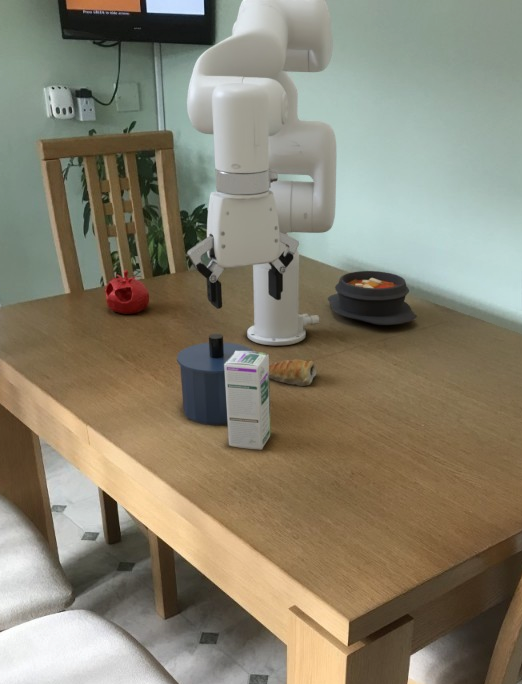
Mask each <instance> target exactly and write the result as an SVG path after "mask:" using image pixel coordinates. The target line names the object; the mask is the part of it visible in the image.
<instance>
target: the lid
mask: <svg viewBox="0 0 522 684" xmlns="http://www.w3.org/2000/svg"><path fill="white" fill-rule="evenodd" d="M235 351H254V350H253V349H252V348H250V347H248V346H246V345H242V344H238V343H234V342H226V341H225V342H224V335H222V334H220V333H212V334H209V335H208V342H204V343H203V342H202V343H198V344H194V345H190V346H187V347H185V348H184V349H182V350H180V351H179V352H178V354H177V356H176V362H177V364H178V365H179V366H182V367H183V368H185V369H188V370H191V371H194V372H200V373H209V374H221V373H225V368H224V364H225V363H226V362H227V360H228V359H229V358H230V357H231V356H232V355H233V354H234V352H235Z"/></svg>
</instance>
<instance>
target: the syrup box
mask: <svg viewBox="0 0 522 684" xmlns="http://www.w3.org/2000/svg"><path fill="white" fill-rule="evenodd" d="M269 356H270V355H269V353H266V352H261V351H254V350H253V351H235V352H234V354H233V355H232V356H231V357H230V358H229V359H228V360H227V362H226V363H225V364H224V368H225V386H226V404H227V420H228V424H227V436H228V445H229V446H230V447H233V448H234V447H235V448H241V449H250V450H260V451H262V450H263V448H264V446H265V445H266V444H267V442H268V440H269V439H270V437H271V435H272V423H271V421H272V420H271V419H272V418H271V388H270V387H271V385H270V384H271V383H270V377H269V366H270V358H269Z"/></svg>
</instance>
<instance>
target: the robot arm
mask: <svg viewBox="0 0 522 684" xmlns="http://www.w3.org/2000/svg"><path fill="white" fill-rule="evenodd" d="M333 44H334V43H333V31H332V20H331V14H330V9H329V6H328V4H327V2H326V0H242V1H241V3H240V5H239V8H238V13H237V17H236V20H235V22H234V23H233V26H232V30H231V35H230V36H228V37H227V38H224V39H223V40H221V41H219V42H218V43H216V44H214V45H212V46H211V47H209V48H208V49H206V50H205V51H203V52H202V53H201V54H200V56H198V57H197V59H196V62H195V63H194V66H193V70H192V73H191V76H190V79H189V84H188V88H187V94H186V95H187V97H186V110H187V116H188V119H189V121H190V124H191V125H192V127H193V128H194V129H195V130H196V131H197V132H199V133H202V134H204V135H213V151H214V153H213V154H214V168H215V169H214V173H215V174H214V175H215V191H211V192H210V194H209V200H208V207H207V208H208V209H207V221H206V238H205V239H203V240H202V241H199V242H198V243H197V244H196V245H194V246H192V247H191V248H190V249H188V250H187V252H186V255H187V257H188V259H189V261H190V262H191V263H192V265H193V267H194V269H195V270H196V271H197V272H198V273H200V274H201V275H202V276H203V277H204V278H205V279H206V294H207V295H206V297H207V300H208V302H209V303H210V304H211V305H212V306H213V307H214V308H216V309H217V310H219V309H222V308H223V293H222V282H221V281H219V278H220V277H221V275H222V274H223V272H224V271H225V270H226V269H232V268H239V267H249V266H252V277H253V278H252V280H253V281H252V282H253V283H252V284H253V324H252V325H251V326H250V327H249V328H248V329H247V331H246V335H247V338H248V339H249V340H250V341H252V342H253V343H256V344H259V345H260V344H261V345H264V346H273V347H274V346H275V347H276V346H277V347H279V346H291V345H295V344H298V343H300V342H302V341H303V340H305V338H306V334H307V333H306V329H305V328H306V327H307V326H309V325H310V326H313V325H318V324H320V317H319V315H318V314H316V315H314V314H313V315H309V314H308V313H300V312H299V310H300V306H299V305H300V304H299V303H300V255H299V250H298V247H299V245H300V242H299V240H297V239H296V238H294V237H292V236H290V235H288V234H287V233H301V234H302V233H303V234H305V233H306V234H312V233H313V234H322V233H323V234H324V233H328V232H329V231H330V230H331V229H332V228H333V226H334V223H335V218H336V201H337V200H336V198H337V196H336V195H337V138H336V135H335V131H334V129H333V127H332V126H331V125H330V124H329V123H327V122H325V121H320V120H300V119H299V115H298V102H299V101H298V99H299V97H298V96H299V95H298V90H297V87H296V84H295V83H294V81H293V79H292V77H291V76H290V75H289V72H291V73H293V72H294V73H319V72H323V71H325V70H326V69H327V68H328V67H329V64H330V62H331V59H332V56H333V46H334V45H333ZM278 175H293V176H295V175H296V176H308V177H310V178H311V179H312V181H300V180H299V181H298V180H297V181H296V180H295V181H294V180H281V179H280V180H279V176H278ZM205 254H206V255H207V257H208V259H209V260H210V261H209V263H208V264H207V266H206V265H205V263H204V262H203V260H202V256H203V255H205Z"/></svg>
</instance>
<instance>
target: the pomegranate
mask: <svg viewBox="0 0 522 684" xmlns="http://www.w3.org/2000/svg"><path fill="white" fill-rule="evenodd" d="M128 275H129V269H124V270H123V276H121V275H119V274H116V275H115V277H112V278H108V279H107V280H108V283H107V284H106V286H105V289H104V293H105V297H106V305H107V307H108V309H110V310H111V311H112V312H115V313H119V314H123V315H131V314H138V313H140V312H141V311H144V310H145V309H147V307H148V306H149V304H150V293H149V291H148V289H147V287H146V285H144V283H143V282H142V281H140V280H138V279H136V278H142V275H135V276H132V277H129V276H128ZM117 277H118V278H117Z"/></svg>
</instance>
